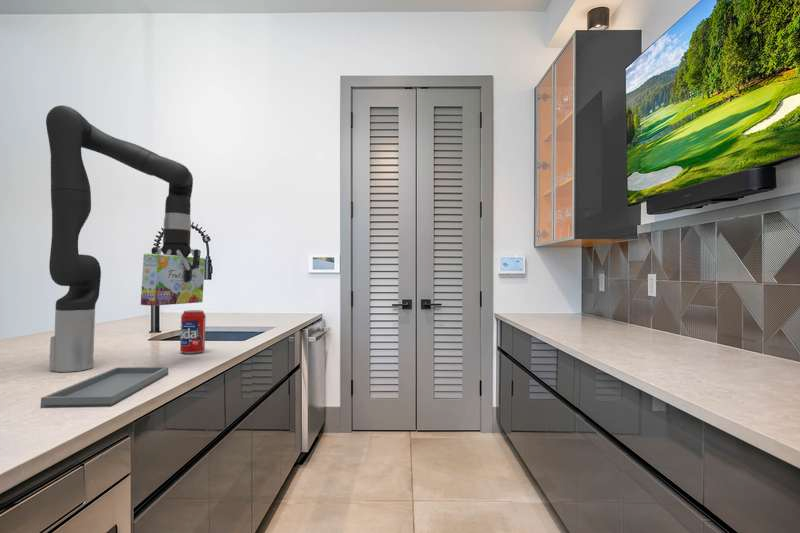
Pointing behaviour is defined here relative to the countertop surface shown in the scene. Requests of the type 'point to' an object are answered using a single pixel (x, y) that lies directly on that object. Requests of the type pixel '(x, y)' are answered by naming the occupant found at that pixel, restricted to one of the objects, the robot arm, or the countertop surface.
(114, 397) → the tray
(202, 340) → the soda can
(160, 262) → the snack box
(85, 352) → the robot arm
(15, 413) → the countertop surface
